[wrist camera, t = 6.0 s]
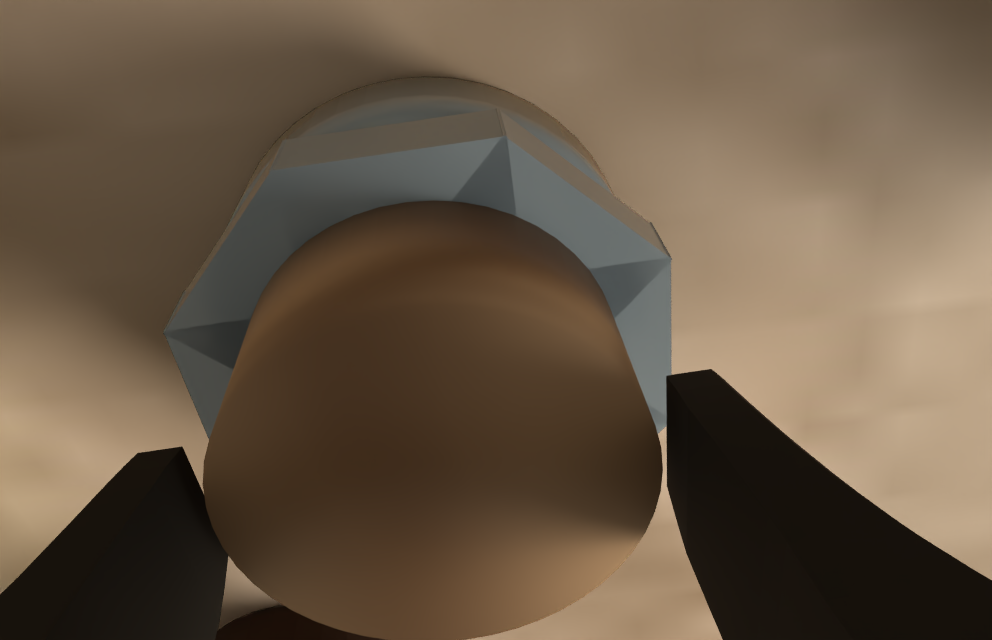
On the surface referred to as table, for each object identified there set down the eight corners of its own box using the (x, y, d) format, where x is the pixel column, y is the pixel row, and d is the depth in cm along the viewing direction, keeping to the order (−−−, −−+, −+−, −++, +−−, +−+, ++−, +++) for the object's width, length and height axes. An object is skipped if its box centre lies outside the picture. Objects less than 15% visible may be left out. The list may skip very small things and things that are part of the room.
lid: (613, 176, 11) (667, 273, 9) (620, 481, 14) (660, 613, 12) (197, 228, 11) (134, 340, 9) (295, 522, 14) (269, 664, 12)
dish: (616, 46, 14) (671, 110, 11) (629, 394, 18) (672, 514, 15) (175, 110, 14) (103, 193, 11) (291, 444, 18) (264, 574, 15)
